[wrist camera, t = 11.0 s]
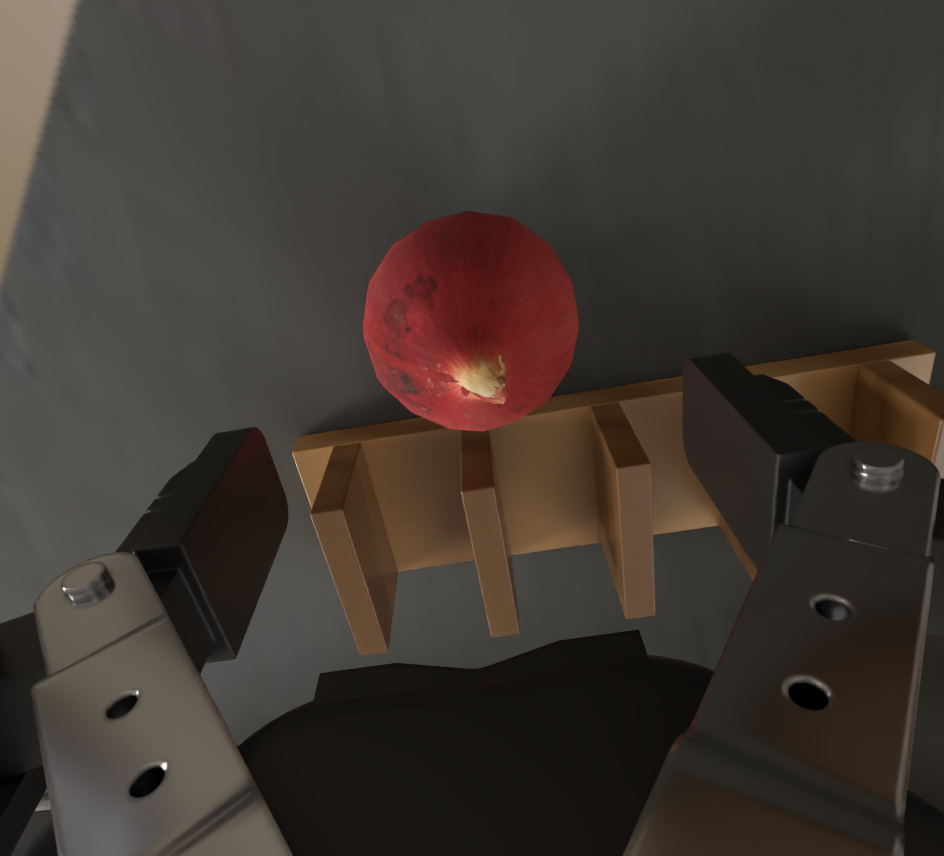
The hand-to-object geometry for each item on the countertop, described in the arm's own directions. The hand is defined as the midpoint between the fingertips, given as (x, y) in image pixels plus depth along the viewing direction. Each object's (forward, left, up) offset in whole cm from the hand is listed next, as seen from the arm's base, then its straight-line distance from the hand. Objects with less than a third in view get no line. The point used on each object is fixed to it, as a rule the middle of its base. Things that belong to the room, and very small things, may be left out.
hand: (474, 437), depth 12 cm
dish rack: (+4, -7, -10) cm, 13 cm away
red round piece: (0, 0, -10) cm, 10 cm away
